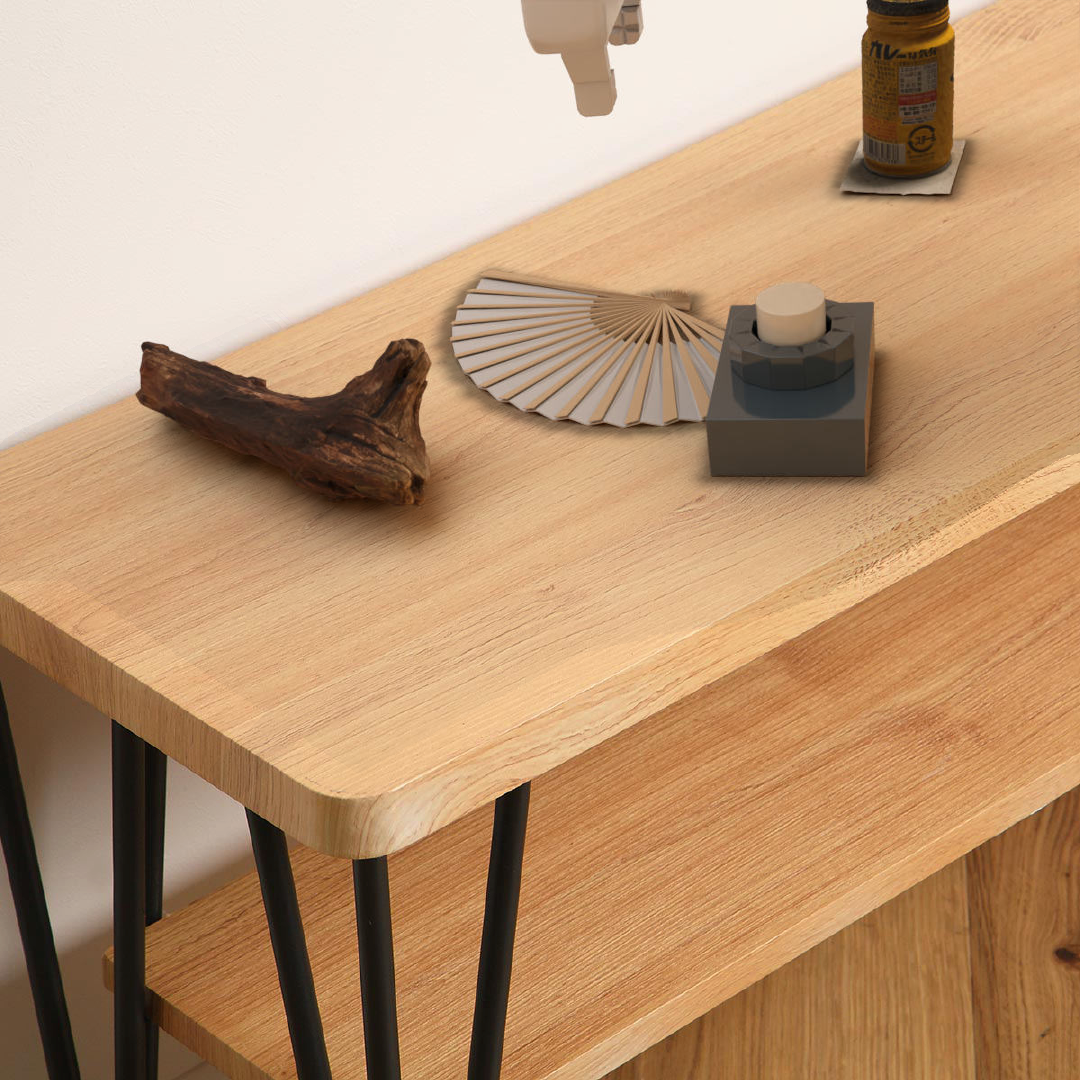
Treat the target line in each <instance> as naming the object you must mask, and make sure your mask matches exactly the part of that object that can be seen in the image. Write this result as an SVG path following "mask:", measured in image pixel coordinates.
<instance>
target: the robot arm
mask: <svg viewBox="0 0 1080 1080" xmlns="http://www.w3.org/2000/svg"><path fill="white" fill-rule="evenodd" d="M520 4H521V13H522V20H523V27H524V31H525V32H524V33H525V34H526V37H527V40H528V43H529V44H530V47H531V48H532V50H533V52H534V53H536V54H538V55H558V54H560V58H561V61H562V62H563V64H564V67H565V69H566V72H567V74H568V77H569V78H570V81H571V83H572V85H573V91H574V97H575V98H574V99H575V104H576V110H577V112H578V114H579V115H580V116H582V117H585V118H593V117H606V116H609V115H610V114H611V113H612V112H613V111H614V107H615V104H616V102H617V98H618V91H617V88H616V85H617V84H616V77H615V76H616V75H615V68H611V63H610V57H609V51H608V46H609V44H610V45H611V46H614V47H618V46H623V45H628V46H630V45H631V46H632V45H636V43H638V42H639V40H640V38H641V36H642V33H643V31H644V27H645V26H644V19H643V8H642V7H643V6H642V0H520Z"/></svg>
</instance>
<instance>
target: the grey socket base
mask: <svg viewBox="0 0 1080 1080" xmlns="http://www.w3.org/2000/svg"><path fill="white" fill-rule="evenodd" d="M825 306H826V333H825V335H824V336H823V337H822V338H820V339H819V340H816V341H813V342H810V343H806V344H803V345H800V346H776V345H773V344H769V343H766V342H762V341H761V340H760V339H759V337H758V334H757V319H756V304H755V303H753V304H731V305H730V306H729V311H728V316H727V320H726V325H725V330H724V331H725V333H724V338H723V342H722V347H721V352H720V356H719V361H718V365H717V370H716V375H715V379H714V384H713V388H712V393H711V397H710V402H709V407H708V411H707V416H706V420H705V429H706V440H707V441H706V443H707V451H708V462H709V473H710V476H712V477H718V476H719V477H720V476H721V477H723V476H724V477H730V476H731V477H732V476H733V477H741V476H742V477H753V476H754V477H857V476H858V477H865V476H867V465H868V454H869V453H868V452H869V441H870V440H869V438H870V429H871V428H870V426H871V413H872V412H871V411H872V399H873V385H874V372H875V360H876V359H875V358H876V343H875V342H876V341H875V339H876V337H875V336H876V335H875V301H855V302H854V301H852V302H851V301H850V302H849V301H848V302H839V301H835V300H831V299H829V298H828V299H827V298H825Z"/></svg>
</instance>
